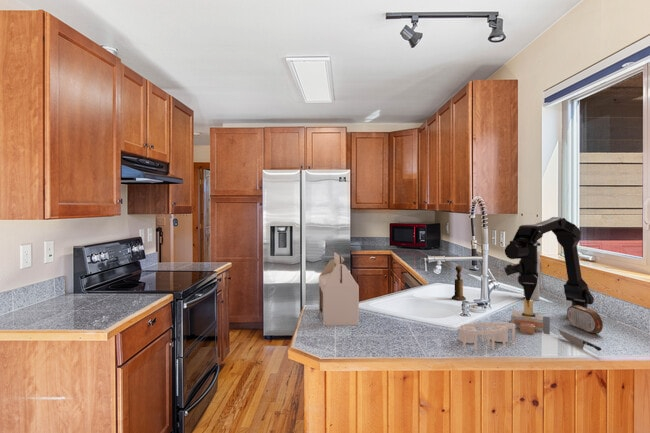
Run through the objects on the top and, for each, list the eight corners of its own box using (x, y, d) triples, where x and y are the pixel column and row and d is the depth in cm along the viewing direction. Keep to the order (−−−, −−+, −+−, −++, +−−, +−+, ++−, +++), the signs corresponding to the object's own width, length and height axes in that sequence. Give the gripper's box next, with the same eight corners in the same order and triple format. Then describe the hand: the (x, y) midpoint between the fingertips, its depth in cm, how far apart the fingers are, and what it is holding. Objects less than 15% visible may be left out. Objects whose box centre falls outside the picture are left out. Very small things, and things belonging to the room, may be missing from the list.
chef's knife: (556, 336, 134) (556, 328, 134) (559, 336, 134) (559, 328, 134) (599, 357, 115) (599, 347, 115) (602, 357, 115) (602, 347, 115)
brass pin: (524, 324, 147) (524, 299, 147) (533, 325, 146) (532, 299, 146) (523, 326, 145) (523, 300, 145) (532, 327, 143) (532, 301, 143)
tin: (603, 336, 135) (603, 313, 135) (595, 336, 134) (595, 313, 134) (572, 323, 150) (573, 302, 150) (565, 324, 149) (565, 303, 149)
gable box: (359, 331, 140) (359, 257, 140) (323, 333, 139) (323, 257, 138) (349, 315, 162) (349, 250, 162) (318, 316, 161) (318, 251, 161)
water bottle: (526, 301, 187) (526, 251, 187) (521, 297, 195) (521, 249, 195) (546, 302, 186) (546, 251, 186) (540, 298, 194) (540, 250, 193)
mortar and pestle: (465, 301, 188) (465, 265, 188) (466, 304, 182) (466, 267, 182) (451, 300, 190) (451, 264, 190) (451, 302, 184) (451, 266, 184)
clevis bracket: (513, 322, 152) (513, 310, 152) (542, 326, 147) (543, 313, 147) (509, 332, 139) (509, 319, 139) (542, 337, 133) (542, 323, 133)
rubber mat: (512, 313, 165) (512, 312, 165) (549, 318, 158) (549, 317, 158) (506, 329, 143) (506, 328, 143) (549, 335, 135) (549, 334, 135)
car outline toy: (505, 340, 131) (505, 319, 131) (526, 352, 120) (526, 329, 120) (450, 343, 128) (450, 321, 128) (466, 355, 117) (466, 331, 117)
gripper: (507, 254, 157) (507, 291, 157) (503, 258, 141) (502, 300, 141) (538, 255, 151) (538, 294, 151) (537, 260, 135) (536, 304, 135)
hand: (528, 298), depth 145 cm, fingers open, 9 cm apart
